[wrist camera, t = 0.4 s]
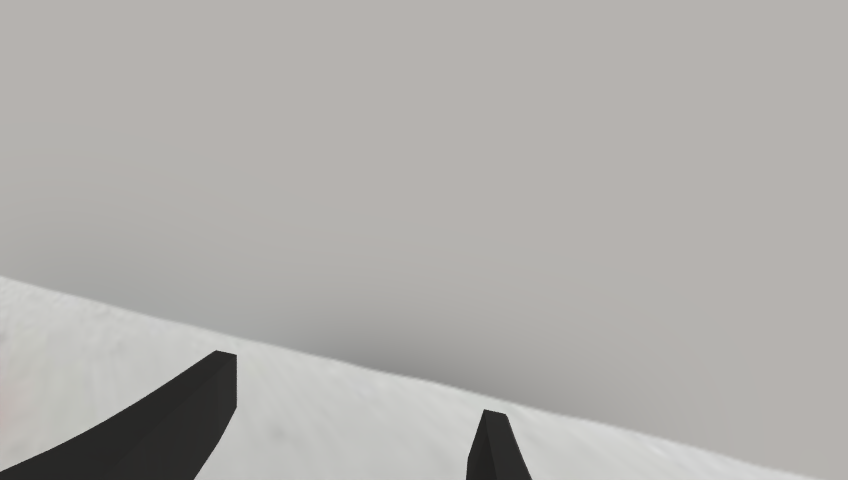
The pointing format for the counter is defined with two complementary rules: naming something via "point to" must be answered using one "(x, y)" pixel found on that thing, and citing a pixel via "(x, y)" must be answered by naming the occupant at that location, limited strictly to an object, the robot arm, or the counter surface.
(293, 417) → the counter surface
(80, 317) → the counter surface
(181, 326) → the counter surface
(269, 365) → the counter surface
